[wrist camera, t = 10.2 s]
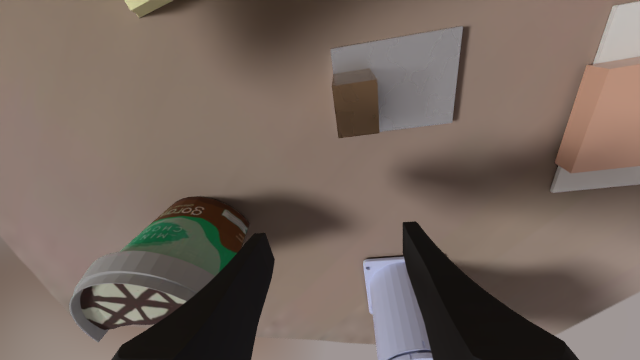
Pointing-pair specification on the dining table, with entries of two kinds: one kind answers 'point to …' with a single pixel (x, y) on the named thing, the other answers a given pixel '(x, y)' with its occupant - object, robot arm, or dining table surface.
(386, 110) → the turner
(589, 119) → the tile
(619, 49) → the mat
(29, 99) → the dining table surface
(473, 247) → the dining table surface
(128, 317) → the food container
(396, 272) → the robot arm
